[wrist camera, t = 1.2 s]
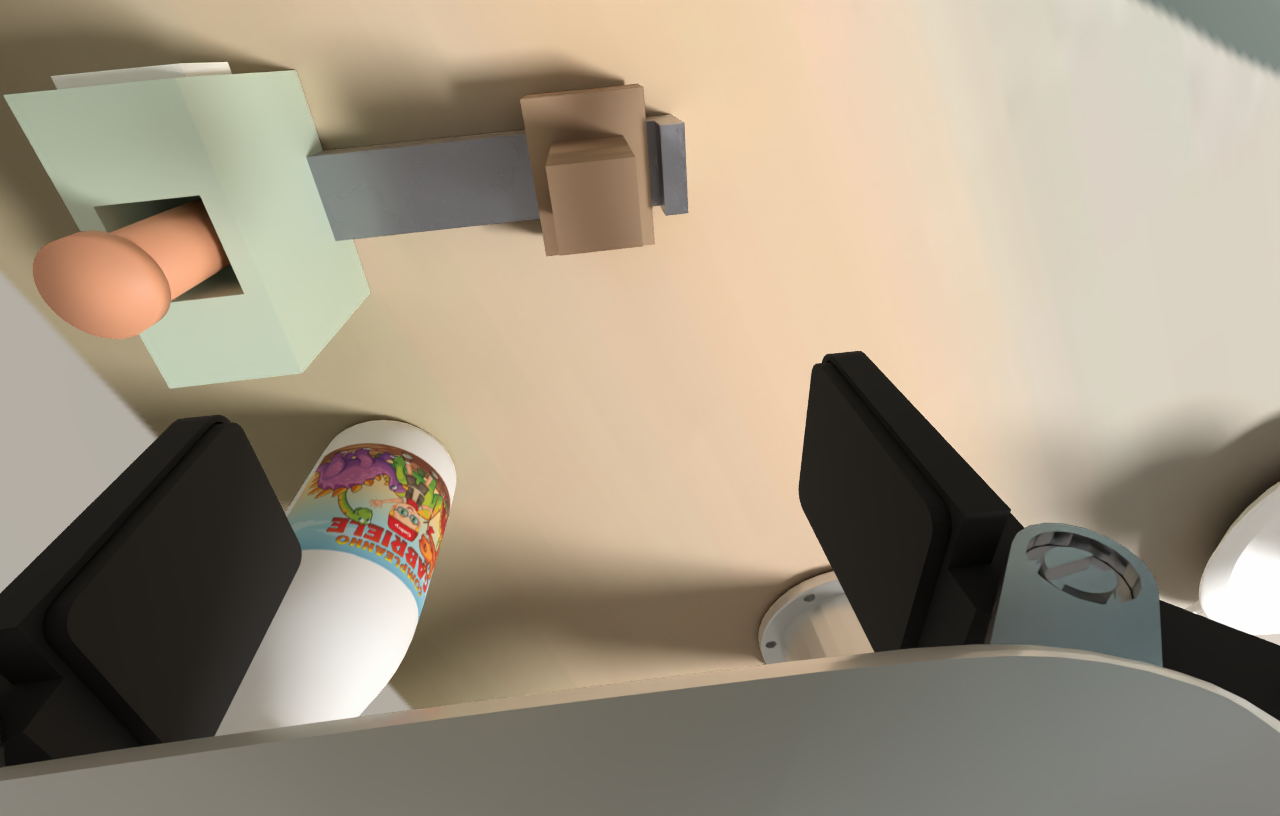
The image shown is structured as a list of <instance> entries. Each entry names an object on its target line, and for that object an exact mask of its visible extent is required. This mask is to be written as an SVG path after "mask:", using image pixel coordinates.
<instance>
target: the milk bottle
mask: <svg viewBox="0 0 1280 816" xmlns="http://www.w3.org/2000/svg"><path fill="white" fill-rule="evenodd" d="M455 487H456V471H455V467H454V464H453V462H452V459H451V458H450V456H449V454H448V452H447V450H446V449H445V448H444V447H443V446H442V444H441V443H440V442H439V441H438V440H436V439H435V438H434V437H433V436H432V435H430V434H429V433H427V432H425V431H424V430H422V429H420V428H418V427H415V426H413V425H411V424H408V423H403V422H399V421H392V420H374V421H368V422H364V423H360V424H357V425H354V426H352V427H350V428H348V429H346V430H344V431H342V432H341V433H339V434H338V435H337V436H336V437H335V438H334V439H333V440H332V441H331V442H330V444H329V445H328V447H327V448H326V449H325V451H324V452H323V454H322V455H321V457H320V458H319V460H318V461H317V463H316V465H315V466H314V468H313V469H312V471H311V473H310V474H309V476H308V477H307V479H306V480H305V482H304V484H303V485H302V487H301V488H300V490H299V492H298V493H297V495H296V496H295V498H294V500H293V501H292V503H291V504H290V506H289V508H288V509H287V511H286V512H285V515H286V517H287V519H288V521H289V523H290V525H291V527H292V529H293V531H294V533H295V535H296V537H297V539H298V541H299V543H300V546H301V550H302V559H301V564H300V566H299V569H298V571H297V573H296V575H295V577H294V579H293V581H292V583H291V585H290V587H289V589H288V591H287V593H286V595H285V597H284V599H283V601H282V603H281V605H280V607H279V609H278V611H277V613H276V615H275V617H274V619H273V621H272V623H271V624H270V626H269V628H268V630H267V632H266V634H265V636H264V638H263V640H262V642H261V644H260V646H259V648H258V650H257V652H256V654H255V656H254V658H253V660H252V662H251V664H250V666H249V668H248V670H247V672H246V674H245V676H244V678H243V680H242V682H241V684H240V686H239V688H238V690H237V692H236V694H235V696H234V698H233V700H232V702H231V704H230V706H229V708H228V710H227V712H226V714H225V716H224V718H223V720H222V722H221V724H220V726H219V728H218V730H217V732H216V734H215V736H221V735H228V734H236V733H243V732H250V731H258V730H265V729H272V728H280V727H287V726H295V725H302V724H309V723H317V722H324V721H331V720H339V719H346V718H354V717H359V715H360V714H361V713H362V712H363V711H364V710H365V709H366V708H367V706H368V705H369V704H370V703H371V702H372V701H373V700H374V699H375V698H376V696H377V695H378V694H379V693H380V692H381V691H382V690H383V688H384V687H385V686H386V685H387V683H388V682H389V680H390V679H391V678H392V676H393V675H394V673H395V672H396V670H397V669H398V667H399V665H400V663H401V662H402V660H403V658H404V656H405V654H406V652H407V650H408V647H409V645H410V643H411V641H412V638H413V635H414V632H415V629H416V626H417V623H418V620H419V617H420V614H421V611H422V608H423V605H424V602H425V598H426V595H427V591H428V588H429V584H430V581H431V577H432V574H433V570H434V567H435V563H436V560H437V556H438V552H439V549H440V545H441V541H442V538H443V534H444V530H445V527H446V523H447V519H448V516H449V512H450V508H451V505H452V501H453V497H454V492H455Z"/></svg>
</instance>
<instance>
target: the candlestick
mask: <svg viewBox="0 0 1280 816" xmlns="http://www.w3.org/2000/svg"><path fill="white" fill-rule="evenodd" d="M1185 610H1187V611H1190V612H1193V613H1195V614H1200V613H1202V612H1204V614H1205V615H1206V617H1207V618H1208V619H1211V620H1214V621H1216V622H1219V623H1222V624H1224V625H1227V626H1229V627H1232V628H1235V629H1237V630H1240V631H1243V632H1245V633H1248V634H1250V635H1265V634H1277V633H1280V482H1278V483H1277V484H1275V485H1274V486H1272V487H1271V488H1269V489H1267V490H1266V491H1265V492H1264V493H1263V494H1262V495H1261V496H1260V497H1258V498H1257V499H1256V500H1255V501H1254V502H1253V503H1252V504H1250V505H1249V506H1248V507H1247V508H1246V509H1245V510H1244V511H1243V512H1242V513H1241V515H1240V516H1239V517H1238V518H1237V519H1236V520H1235V521H1234V523H1233V524H1232V525H1231V526H1230V528H1229V529H1228V531H1227V532H1226V534H1225V536H1224V537H1223V539H1222V540H1221V542H1220V544H1219V545H1218V547H1217V548H1216V550H1215V551H1214V553H1213V554H1212V556H1211V558H1210V559H1209V561H1208V563H1207V565H1206V567H1205V570H1204V572H1203V575H1202V578H1201V582H1200V587H1199V600H1198V601H1197V602H1195V603H1193V604H1192V605H1190V606H1189V607H1187V608H1186V609H1185Z"/></svg>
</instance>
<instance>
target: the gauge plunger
mask: <svg viewBox="0 0 1280 816" xmlns="http://www.w3.org/2000/svg"><path fill="white" fill-rule="evenodd" d="M230 264H231V263H230V261H229V259H228V257H227V254H226V252H225V250H224V248H223V245H222V243H221V241H220V239H219V237H218V234H217V232H216V230H215V228H214V226H213V223H212V221H211V219H210V217H209V214H208V212H207V210H206V208H205V206H204V203H203V201H202V199H201V198H198V199H195V200H193V201H190V202H188V203H185V204H182V205H180V206H177V207H175V208H172V209H170V210H167V211H164V212H162V213H159V214H157V215H154V216H152V217H149V218H146V219H144V220H141V221H139V222H136V223H134V224H131V225H128V226H126V227H123V228H121V229H118V230H116V231H113V232H110V233H108V232H103V231H94V230H91V231H81V232H77V233H74V234H71V235H69V236H66V237H63V238H60V239H57V240H55V241H52V242H50V243H48V244H46V245H45V246H44V247H42V248H41V249H40V251H39V252H38V253H37V255H36V257H35V260H34V263H33V277H34V281H35V284H36V286H37V289H38V291H39V293H40V295H41V296H42V298H43V299H44V301H45V302H46V303H47V304H48V306H49V307H50V308H51V309H52V310H53V311H54V312H55V313H56V314H57V315H58V316H60V317H61V318H62V319H63V320H65V321H66V322H68V323H69V324H71V325H72V326H74V327H76V328H78V329H80V330H82V331H84V332H86V333H89V334H92V335H95V336H99V337H104V338H111V339H122V338H129V337H132V336H136V335H138V334H140V333H142V332H143V331H145V330H146V329H148V328H149V327H151V326H152V325H154V324H155V323H157V322H158V321H160V320H161V319H162V318H163V317H164V316H165V315H166V313H167V312H168V310H169V307H170V303H171V301H172V300H173V299H175V298H176V297H178V296H180V295H181V294H183V293H184V292H186V291H188V290H189V289H191V288H193V287H194V286H196V285H197V284H199V283H201V282H202V281H204V280H206V279H207V278H209V277H210V276H212V275H214V274H215V273H217V272H219V271H220V270H222V269H223V268H225V267H227V266H228V265H230Z"/></svg>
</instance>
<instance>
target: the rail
mask: <svg viewBox="0 0 1280 816" xmlns="http://www.w3.org/2000/svg"><path fill="white" fill-rule="evenodd" d="M646 131H647V144H648V158H649V172H650V186H651V199H652V206H661V208H662V210H663V212H664V214H665V215H675V214H684V213H688V198H687V174H686V151H685V127H684V122H682V121H681V120H679V119H677V118H676V117H674V116H673V115H671V114H668V115H658V116H649V117H646ZM306 158H307V161H308V164H309V167H310V170H311V173H312V175H313V178H314V181H315V184H316V187H317V190H318V193H319V195H320V198H321V201H322V204H323V207H324V210H325V212H326V215H327V218H328V221H329V224H330V227H331V230H332V232H333V235H334V238H335V241H342V240H351V239H360V238H369V237H378V236H387V235H396V234H405V233H414V232H423V231H433V230H442V229H451V228H460V227H469V226H478V225H487V224H496V223H505V222H514V221H524V220H533V219H540V216H539V210H538V204H537V198H536V192H535V186H534V180H533V174H532V168H531V162H530V156H529V151H528V145H527V139H526V133H525V129H524V130H515V131H505V132H495V133H486V134H476V135H467V136H457V137H448V138H438V139H428V140H419V141H409V142H400V143H390V144H381V145H371V146H361V147H352V148H342V149H333V150H323V151H320V152H318V153H315V154H313V155H310V156H308V157H306Z"/></svg>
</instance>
